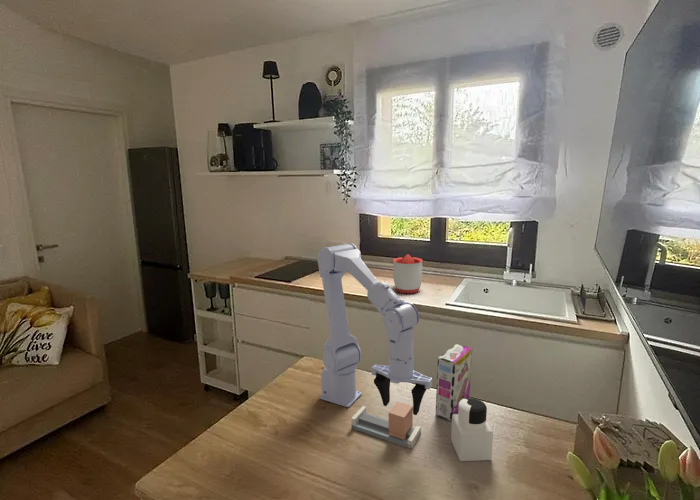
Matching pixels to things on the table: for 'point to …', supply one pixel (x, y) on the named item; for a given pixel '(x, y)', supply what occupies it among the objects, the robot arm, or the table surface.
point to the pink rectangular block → (400, 420)
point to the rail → (382, 428)
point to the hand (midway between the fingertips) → (401, 408)
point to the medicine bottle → (472, 431)
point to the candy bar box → (453, 380)
